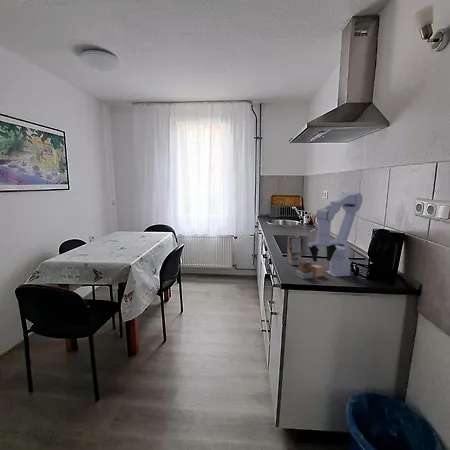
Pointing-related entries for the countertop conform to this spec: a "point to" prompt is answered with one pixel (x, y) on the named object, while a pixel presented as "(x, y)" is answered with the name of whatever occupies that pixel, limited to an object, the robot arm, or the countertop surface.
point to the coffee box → (294, 249)
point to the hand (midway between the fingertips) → (321, 260)
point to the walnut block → (304, 266)
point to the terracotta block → (317, 270)
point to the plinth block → (304, 274)
